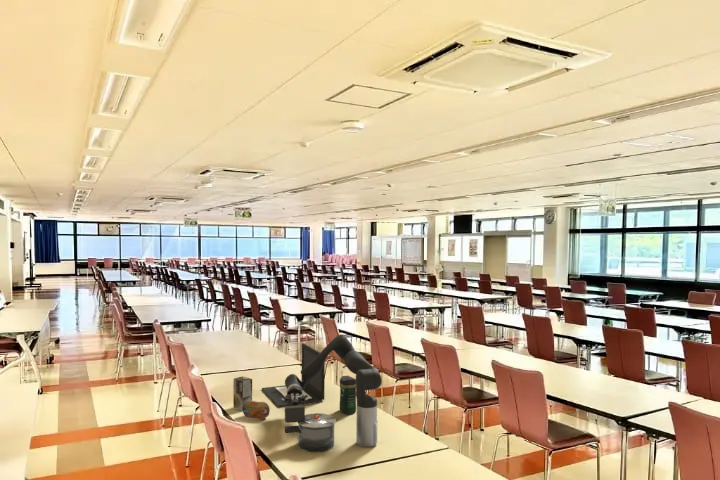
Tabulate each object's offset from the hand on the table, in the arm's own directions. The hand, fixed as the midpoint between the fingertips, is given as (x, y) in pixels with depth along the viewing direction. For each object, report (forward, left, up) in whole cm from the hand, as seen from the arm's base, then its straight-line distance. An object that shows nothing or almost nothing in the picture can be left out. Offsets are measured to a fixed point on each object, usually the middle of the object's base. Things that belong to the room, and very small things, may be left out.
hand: (294, 404), depth 238 cm
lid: (-9, +5, -6) cm, 12 cm away
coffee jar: (-18, -43, -16) cm, 49 cm away
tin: (+27, -26, -16) cm, 41 cm away
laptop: (+19, -65, -17) cm, 70 cm away
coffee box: (+39, -39, -16) cm, 57 cm away
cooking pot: (-8, +5, -16) cm, 19 cm away
